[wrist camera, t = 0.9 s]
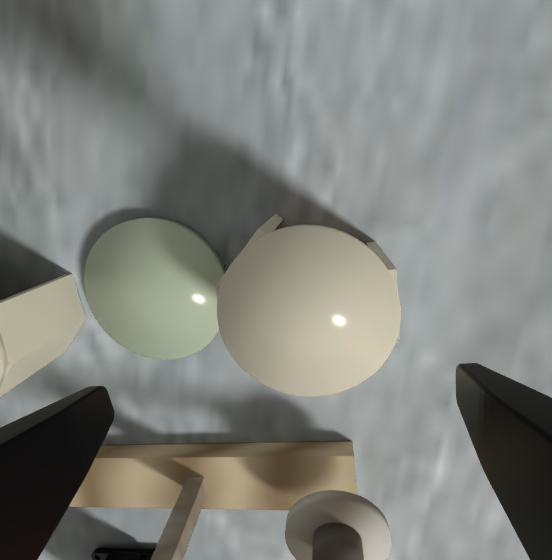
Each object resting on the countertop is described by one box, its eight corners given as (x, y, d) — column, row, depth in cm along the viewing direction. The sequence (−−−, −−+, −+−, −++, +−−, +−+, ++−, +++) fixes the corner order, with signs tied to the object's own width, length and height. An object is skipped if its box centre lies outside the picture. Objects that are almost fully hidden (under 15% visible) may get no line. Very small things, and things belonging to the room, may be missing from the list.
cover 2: (380, 329, 20) (404, 393, 14) (257, 337, 21) (232, 399, 15) (373, 200, 18) (397, 214, 12) (237, 218, 19) (200, 238, 13)
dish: (240, 349, 21) (237, 355, 20) (113, 357, 23) (106, 363, 22) (215, 208, 19) (210, 209, 18) (75, 226, 20) (65, 228, 20)
